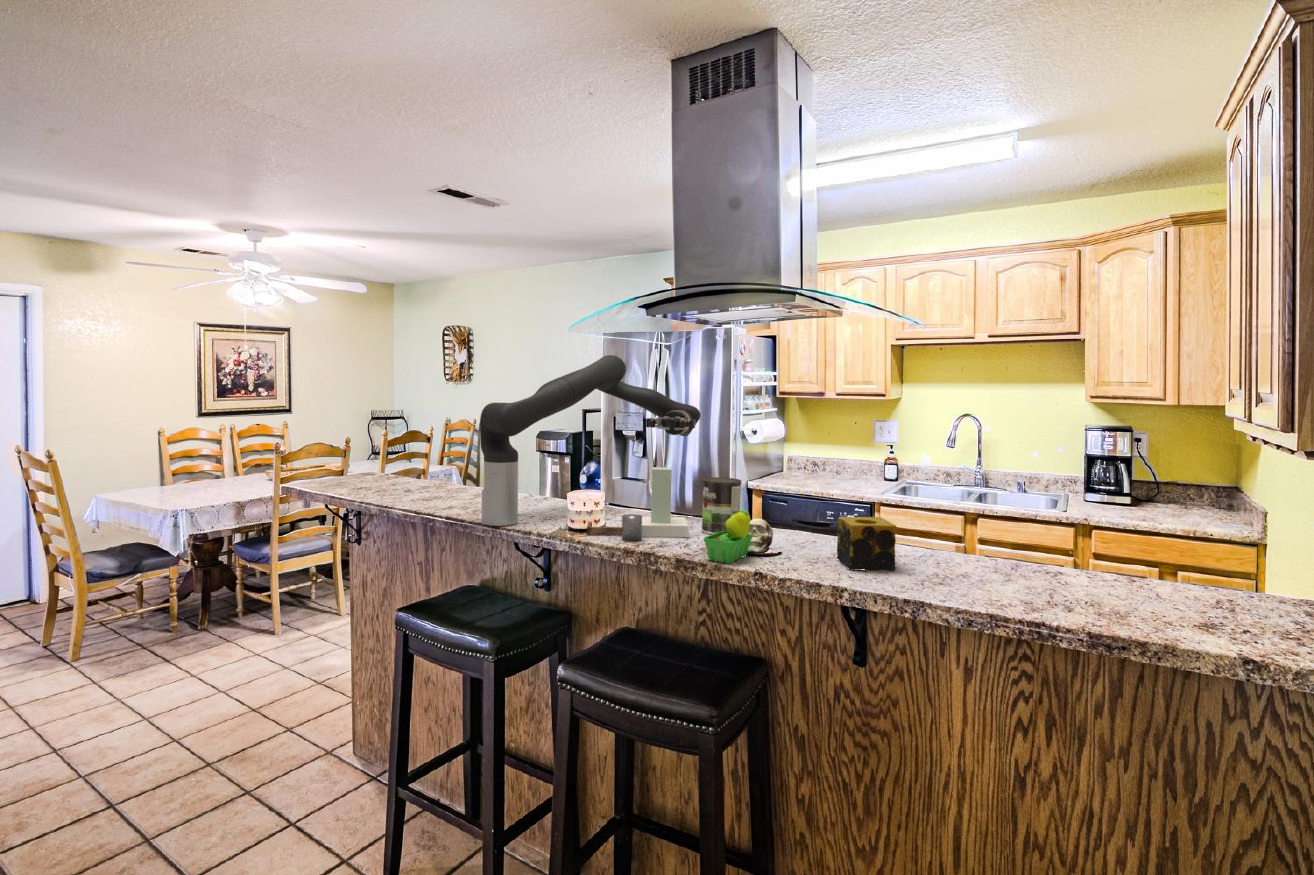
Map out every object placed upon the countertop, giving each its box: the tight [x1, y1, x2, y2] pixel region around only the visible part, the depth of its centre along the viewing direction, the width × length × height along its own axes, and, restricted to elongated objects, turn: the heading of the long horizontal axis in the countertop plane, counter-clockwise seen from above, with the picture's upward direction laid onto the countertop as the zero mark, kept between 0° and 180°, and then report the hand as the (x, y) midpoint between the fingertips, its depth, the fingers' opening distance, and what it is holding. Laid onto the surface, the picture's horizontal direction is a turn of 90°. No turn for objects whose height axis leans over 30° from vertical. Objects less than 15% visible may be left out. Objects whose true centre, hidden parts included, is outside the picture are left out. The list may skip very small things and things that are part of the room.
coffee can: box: [701, 477, 743, 535], centre depth 184 cm, size 10×10×14 cm
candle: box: [836, 516, 897, 571], centre depth 151 cm, size 10×10×10 cm
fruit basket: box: [703, 509, 753, 564], centre depth 154 cm, size 11×9×11 cm
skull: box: [747, 518, 777, 555], centre depth 163 cm, size 12×10×10 cm
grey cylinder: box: [621, 513, 643, 543], centre depth 172 cm, size 5×5×6 cm
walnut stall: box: [586, 521, 622, 537], centre depth 182 cm, size 11×10×2 cm
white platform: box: [642, 516, 690, 538], centre depth 182 cm, size 13×12×3 cm
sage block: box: [650, 466, 673, 523], centre depth 181 cm, size 5×5×14 cm
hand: (666, 424), depth 196 cm, fingers open, 8 cm apart
